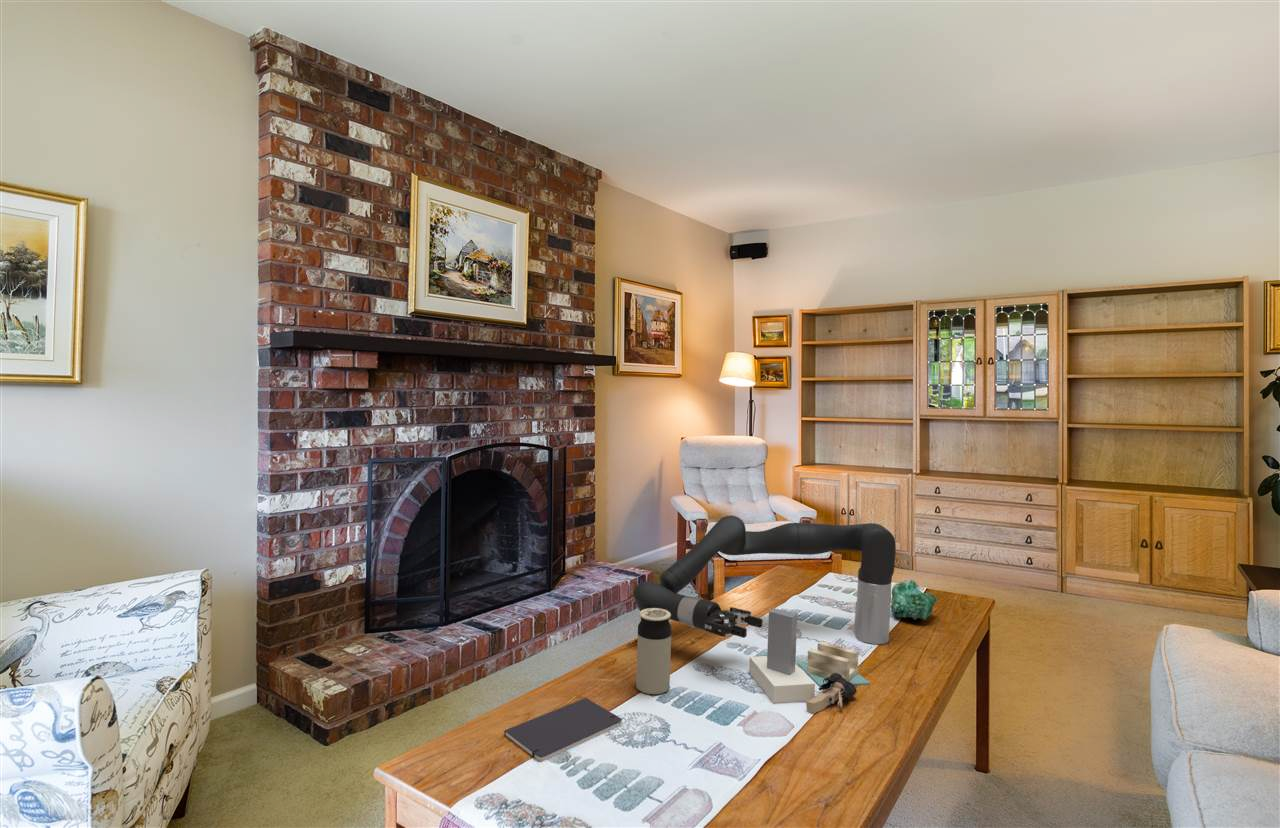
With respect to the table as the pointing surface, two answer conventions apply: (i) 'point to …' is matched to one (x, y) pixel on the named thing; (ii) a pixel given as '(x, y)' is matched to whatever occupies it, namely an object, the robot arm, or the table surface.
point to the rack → (832, 661)
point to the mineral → (911, 601)
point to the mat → (819, 680)
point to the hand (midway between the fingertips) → (754, 628)
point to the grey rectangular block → (782, 641)
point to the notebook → (563, 729)
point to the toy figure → (831, 693)
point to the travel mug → (653, 651)
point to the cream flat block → (781, 682)
